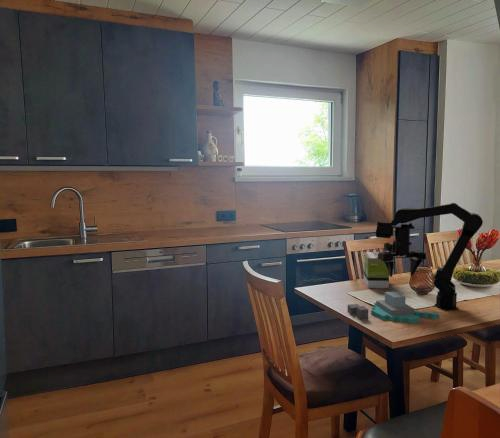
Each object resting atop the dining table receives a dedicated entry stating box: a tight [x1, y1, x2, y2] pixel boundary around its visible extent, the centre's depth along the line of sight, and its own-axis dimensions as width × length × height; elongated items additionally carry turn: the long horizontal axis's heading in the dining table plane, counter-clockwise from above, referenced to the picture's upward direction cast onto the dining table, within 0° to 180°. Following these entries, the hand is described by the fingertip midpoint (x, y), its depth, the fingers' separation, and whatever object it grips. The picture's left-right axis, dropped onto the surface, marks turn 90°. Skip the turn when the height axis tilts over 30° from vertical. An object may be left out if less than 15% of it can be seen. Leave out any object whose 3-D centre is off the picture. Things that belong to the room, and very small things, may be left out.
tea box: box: [363, 251, 390, 289], centre depth 192 cm, size 15×10×15 cm, turn 172°
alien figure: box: [370, 302, 440, 325], centre depth 151 cm, size 20×2×20 cm
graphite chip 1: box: [347, 303, 360, 316], centre depth 152 cm, size 4×4×3 cm
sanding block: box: [375, 291, 416, 316], centre depth 150 cm, size 9×12×6 cm
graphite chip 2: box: [355, 305, 369, 321], centre depth 146 cm, size 4×4×3 cm
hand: (401, 276), depth 164 cm, fingers open, 9 cm apart
